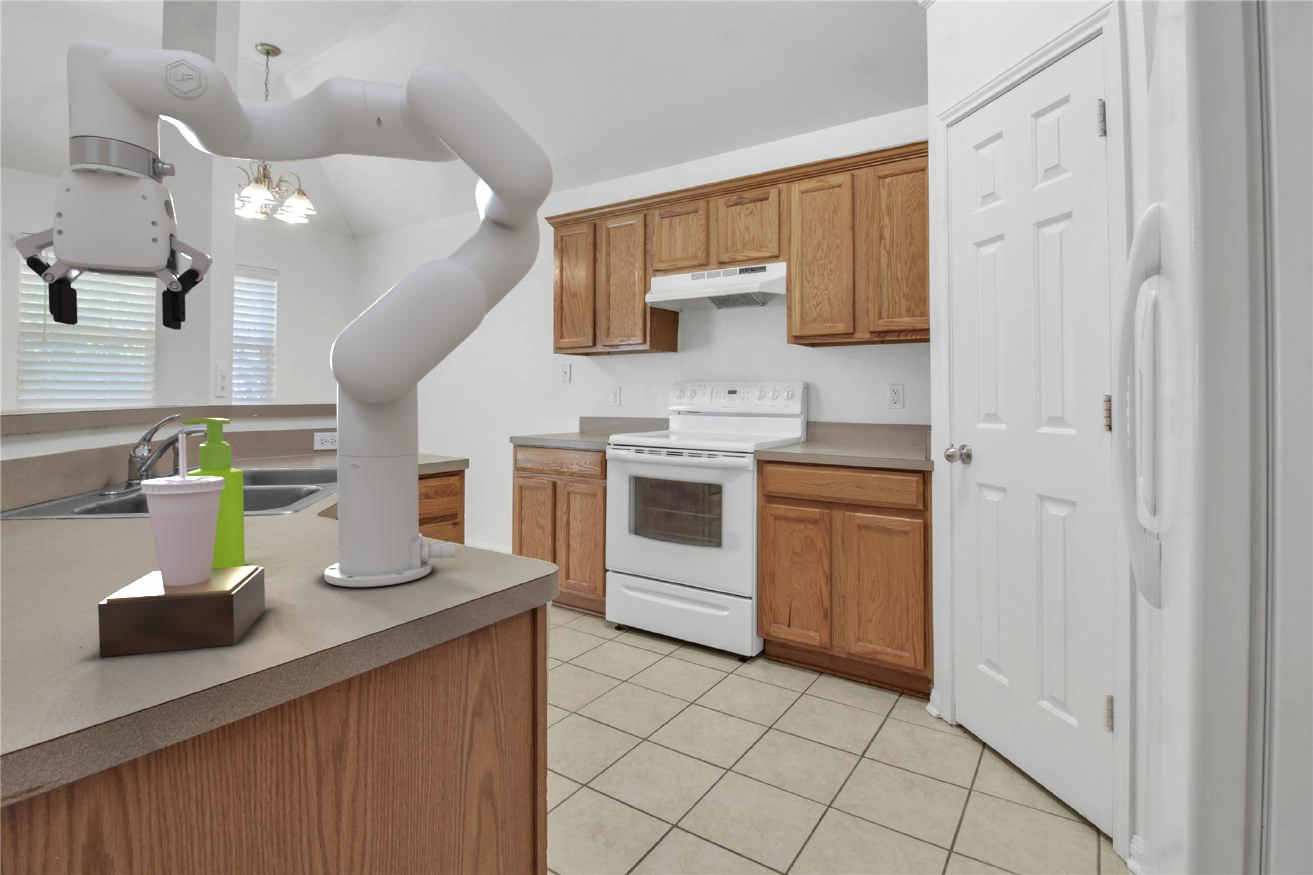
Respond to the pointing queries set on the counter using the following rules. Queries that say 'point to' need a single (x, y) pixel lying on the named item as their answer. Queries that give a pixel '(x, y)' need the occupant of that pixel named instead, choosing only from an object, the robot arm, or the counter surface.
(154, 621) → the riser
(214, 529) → the smoothie
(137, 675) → the counter surface
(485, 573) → the counter surface
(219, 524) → the soap dispenser
